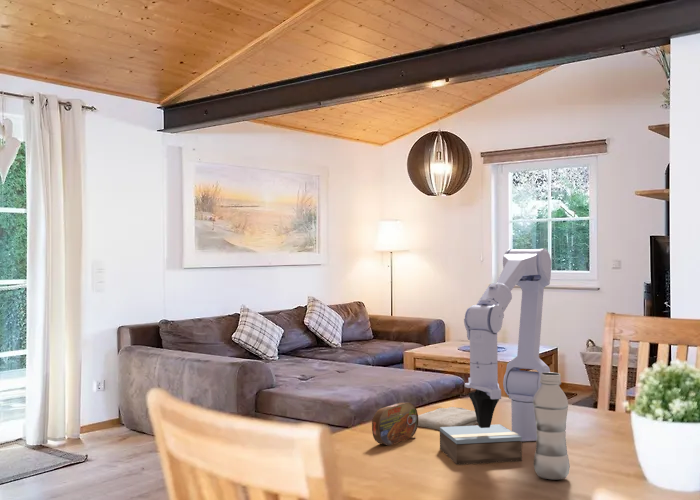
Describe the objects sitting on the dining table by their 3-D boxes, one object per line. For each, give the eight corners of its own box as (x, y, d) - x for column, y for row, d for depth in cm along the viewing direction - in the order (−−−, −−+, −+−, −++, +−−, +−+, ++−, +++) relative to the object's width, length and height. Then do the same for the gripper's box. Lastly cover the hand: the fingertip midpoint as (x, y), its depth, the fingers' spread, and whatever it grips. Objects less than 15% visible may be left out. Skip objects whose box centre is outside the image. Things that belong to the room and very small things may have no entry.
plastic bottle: (564, 485, 135) (563, 377, 135) (528, 480, 139) (528, 374, 139) (574, 476, 140) (573, 372, 141) (539, 471, 144) (538, 370, 144)
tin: (380, 449, 162) (380, 411, 162) (369, 446, 164) (369, 409, 164) (419, 435, 173) (419, 400, 173) (408, 433, 175) (408, 398, 175)
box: (500, 445, 163) (500, 428, 163) (521, 460, 151) (521, 441, 151) (439, 449, 161) (439, 431, 161) (456, 464, 149) (456, 445, 149)
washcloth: (490, 421, 189) (490, 409, 189) (453, 435, 175) (452, 422, 175) (450, 415, 197) (450, 403, 197) (412, 427, 183) (412, 415, 183)
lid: (500, 427, 163) (500, 423, 163) (521, 440, 151) (521, 436, 151) (439, 430, 161) (439, 426, 161) (456, 444, 149) (456, 439, 149)
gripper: (454, 358, 160) (455, 420, 160) (477, 368, 145) (477, 436, 145) (485, 356, 161) (486, 418, 161) (510, 367, 146) (511, 434, 146)
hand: (484, 427), depth 153 cm, fingers closed
